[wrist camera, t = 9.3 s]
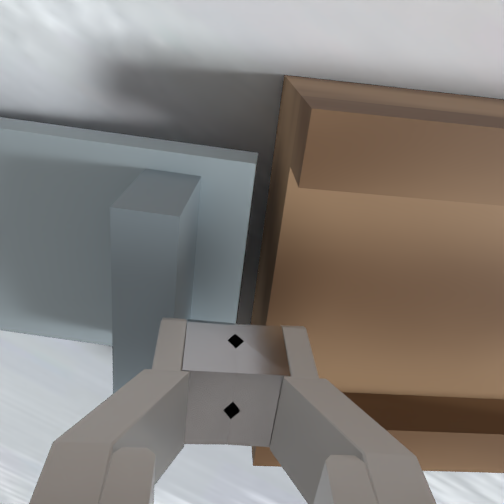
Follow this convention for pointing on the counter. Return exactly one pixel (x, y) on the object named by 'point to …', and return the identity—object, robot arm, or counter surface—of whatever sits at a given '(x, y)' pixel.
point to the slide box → (393, 259)
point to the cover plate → (118, 236)
